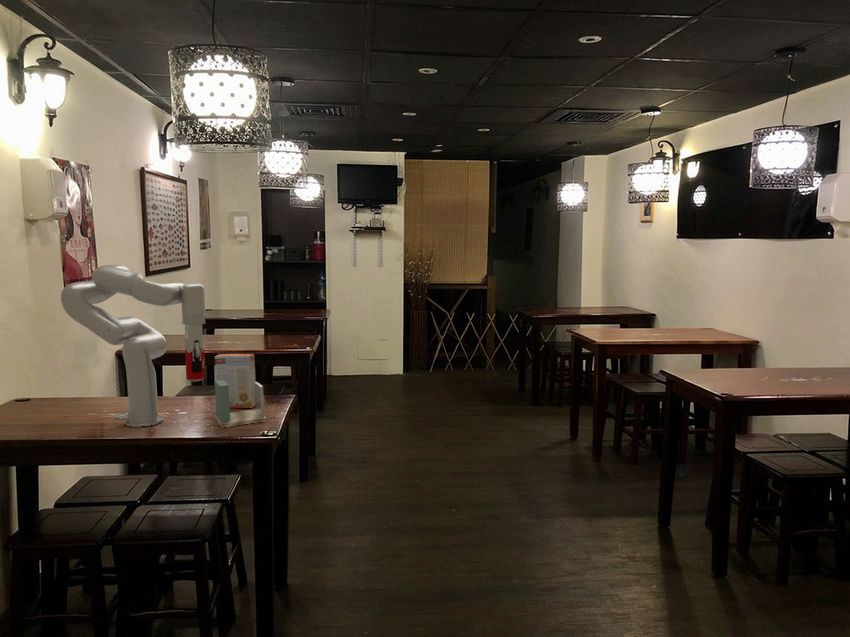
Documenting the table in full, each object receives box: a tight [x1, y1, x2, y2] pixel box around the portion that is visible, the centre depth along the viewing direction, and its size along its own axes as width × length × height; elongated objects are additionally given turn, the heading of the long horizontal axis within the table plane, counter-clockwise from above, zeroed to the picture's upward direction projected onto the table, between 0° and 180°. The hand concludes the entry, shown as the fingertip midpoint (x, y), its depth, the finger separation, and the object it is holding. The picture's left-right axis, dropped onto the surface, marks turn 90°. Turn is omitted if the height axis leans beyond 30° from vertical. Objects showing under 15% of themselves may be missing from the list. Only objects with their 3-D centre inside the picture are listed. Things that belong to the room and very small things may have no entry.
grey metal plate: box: [254, 381, 265, 417], centre depth 239 cm, size 1×9×11 cm, turn 28°
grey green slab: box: [214, 380, 231, 422], centre depth 233 cm, size 3×10×13 cm, turn 28°
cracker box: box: [214, 353, 256, 409], centre depth 254 cm, size 14×6×21 cm, turn 84°
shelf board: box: [213, 409, 268, 429], centre depth 236 cm, size 16×14×2 cm
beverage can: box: [184, 345, 206, 382], centre depth 228 cm, size 6×6×12 cm
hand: (195, 369), depth 229 cm, fingers closed on beverage can, 6 cm apart
